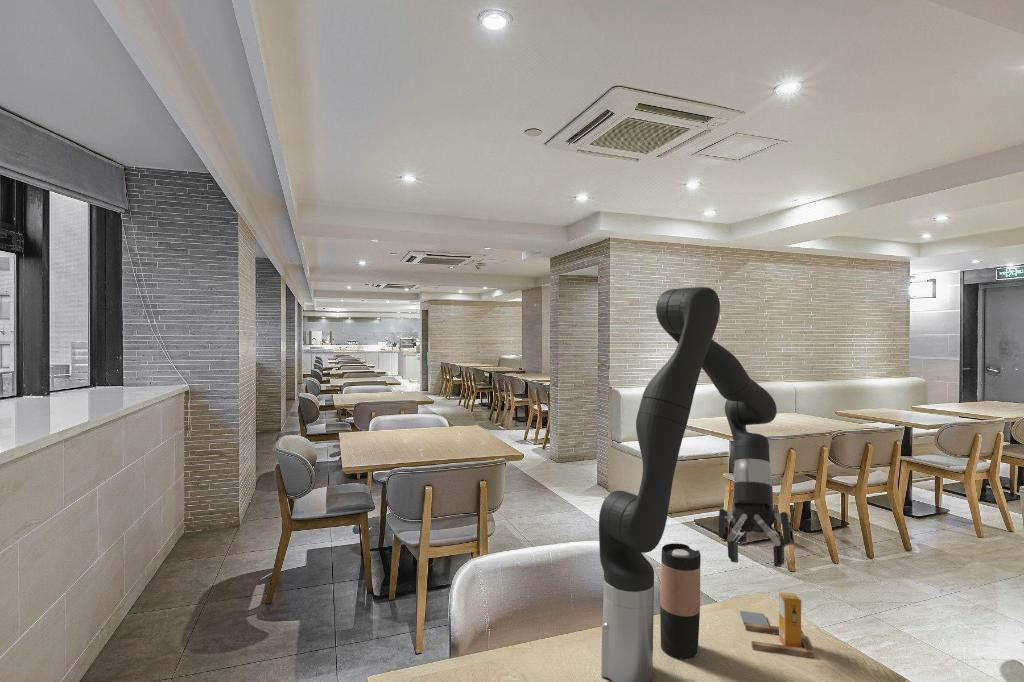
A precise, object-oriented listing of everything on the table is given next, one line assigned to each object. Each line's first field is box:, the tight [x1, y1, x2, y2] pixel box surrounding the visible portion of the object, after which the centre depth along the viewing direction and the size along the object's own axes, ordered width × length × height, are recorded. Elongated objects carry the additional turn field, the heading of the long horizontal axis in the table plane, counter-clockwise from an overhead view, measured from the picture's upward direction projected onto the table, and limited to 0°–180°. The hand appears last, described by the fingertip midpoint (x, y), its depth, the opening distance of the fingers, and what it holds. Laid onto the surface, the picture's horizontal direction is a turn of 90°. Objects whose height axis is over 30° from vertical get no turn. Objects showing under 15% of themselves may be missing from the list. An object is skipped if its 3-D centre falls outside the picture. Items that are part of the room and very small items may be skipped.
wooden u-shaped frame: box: [744, 622, 815, 659], centre depth 111 cm, size 11×8×1 cm
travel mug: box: [659, 542, 702, 660], centre depth 108 cm, size 8×8×20 cm
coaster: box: [739, 610, 770, 626], centre depth 119 cm, size 5×5×1 cm
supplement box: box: [778, 592, 802, 648], centre depth 110 cm, size 3×3×10 cm
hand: (755, 564), depth 108 cm, fingers open, 8 cm apart
